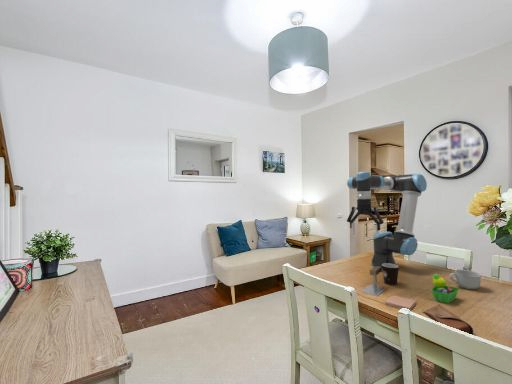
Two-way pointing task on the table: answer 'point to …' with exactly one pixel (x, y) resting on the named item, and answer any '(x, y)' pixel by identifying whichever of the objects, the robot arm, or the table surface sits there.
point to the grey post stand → (374, 288)
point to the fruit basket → (443, 290)
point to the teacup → (466, 279)
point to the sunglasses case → (448, 318)
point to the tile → (400, 302)
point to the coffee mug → (390, 273)
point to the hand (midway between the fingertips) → (364, 235)
